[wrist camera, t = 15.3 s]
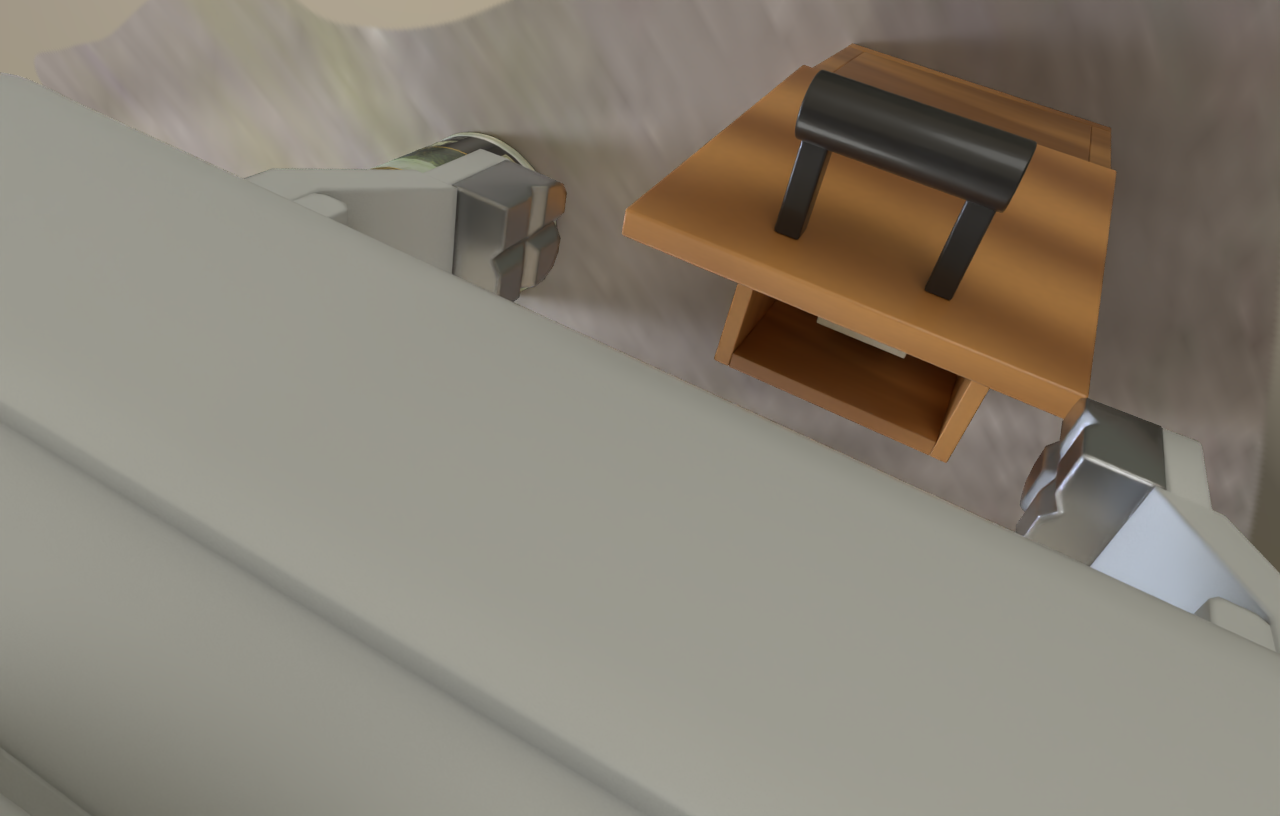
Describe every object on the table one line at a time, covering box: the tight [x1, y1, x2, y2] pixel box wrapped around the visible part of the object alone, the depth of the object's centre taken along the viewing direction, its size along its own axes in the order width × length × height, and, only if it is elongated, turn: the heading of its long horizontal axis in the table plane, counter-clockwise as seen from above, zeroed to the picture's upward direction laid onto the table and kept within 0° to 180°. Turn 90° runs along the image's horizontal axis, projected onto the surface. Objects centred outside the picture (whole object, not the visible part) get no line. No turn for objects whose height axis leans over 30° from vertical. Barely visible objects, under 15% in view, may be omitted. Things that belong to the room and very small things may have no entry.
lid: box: [622, 65, 1116, 419], centre depth 23 cm, size 14×12×5 cm
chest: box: [714, 44, 1111, 463], centre depth 37 cm, size 14×12×8 cm
